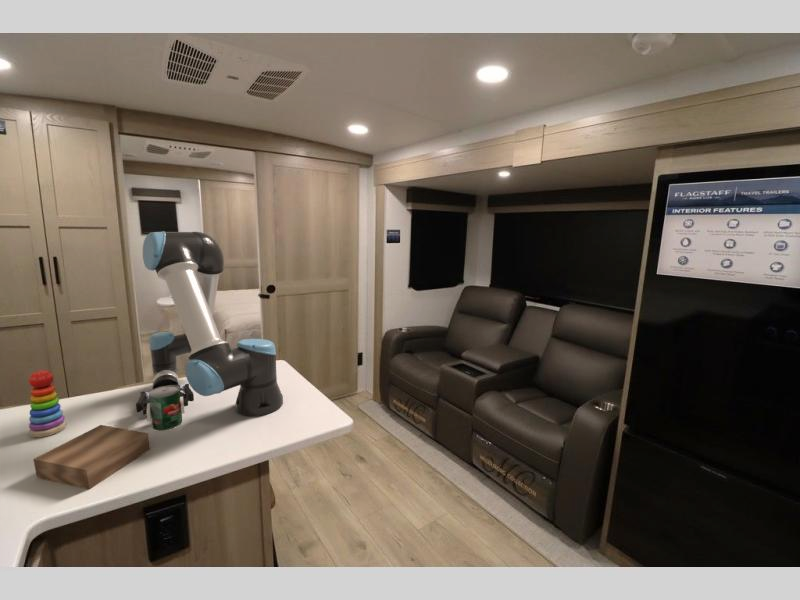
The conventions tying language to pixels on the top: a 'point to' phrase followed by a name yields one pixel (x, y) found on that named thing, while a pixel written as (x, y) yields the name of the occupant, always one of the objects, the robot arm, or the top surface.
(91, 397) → the top surface
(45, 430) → the stacking toy
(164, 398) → the canned tomato
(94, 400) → the top surface
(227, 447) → the top surface
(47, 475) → the block
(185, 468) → the top surface
